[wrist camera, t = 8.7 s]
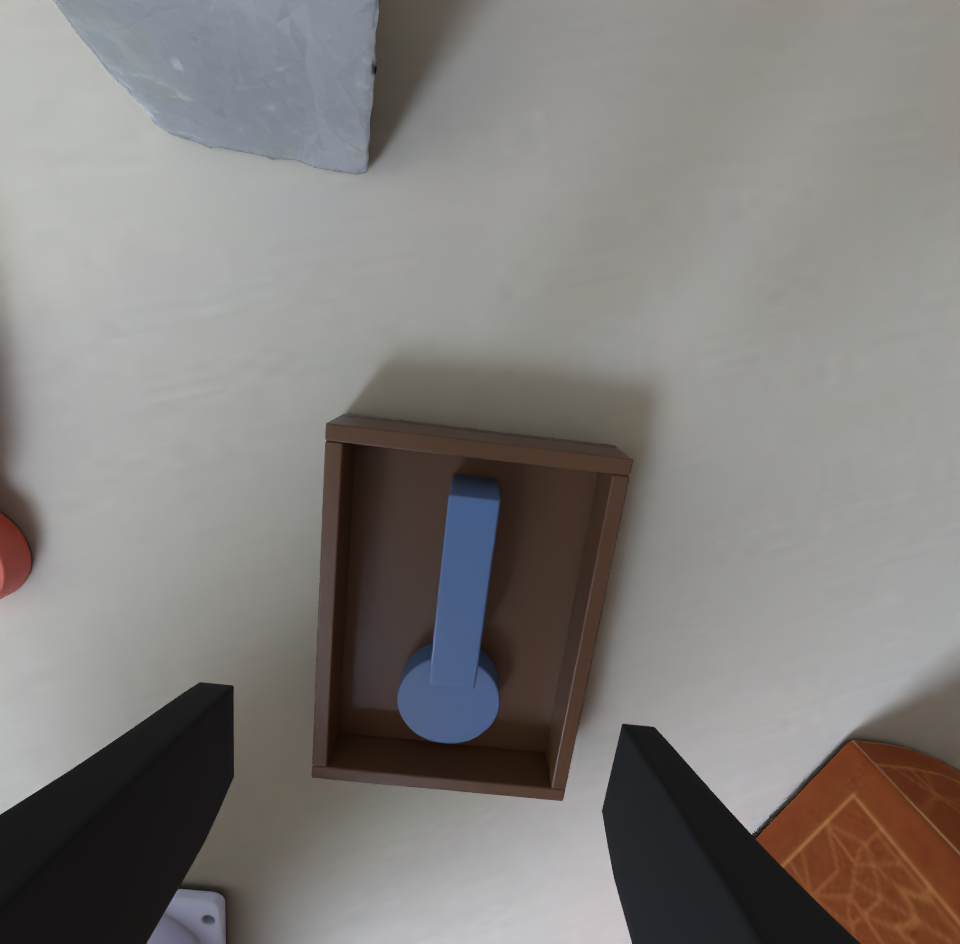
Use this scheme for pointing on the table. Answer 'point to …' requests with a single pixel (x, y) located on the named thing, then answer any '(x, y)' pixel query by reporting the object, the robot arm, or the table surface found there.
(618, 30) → the table surface
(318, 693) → the tray
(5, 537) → the terracotta spoon
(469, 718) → the blue spoon
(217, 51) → the mineral specimen
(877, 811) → the book
